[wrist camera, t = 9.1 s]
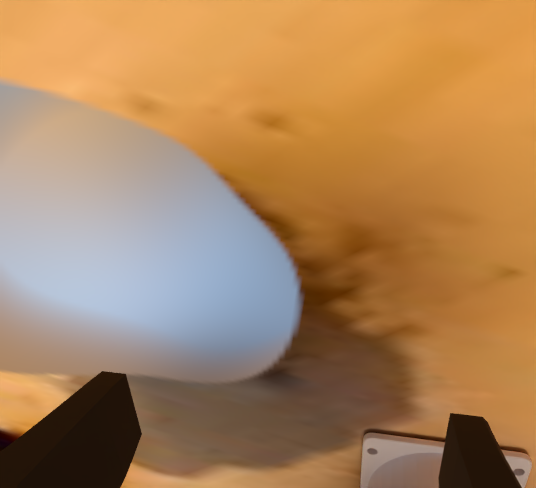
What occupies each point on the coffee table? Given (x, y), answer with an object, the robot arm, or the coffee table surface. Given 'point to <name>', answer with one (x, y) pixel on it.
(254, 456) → the coffee table surface
